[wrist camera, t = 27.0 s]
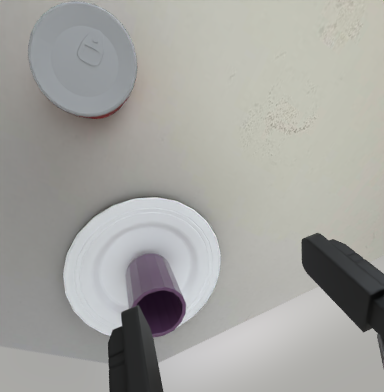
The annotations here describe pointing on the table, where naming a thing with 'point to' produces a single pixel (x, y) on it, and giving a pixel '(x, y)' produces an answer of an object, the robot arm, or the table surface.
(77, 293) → the plate
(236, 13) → the table surface
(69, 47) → the canned food
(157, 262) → the cup
